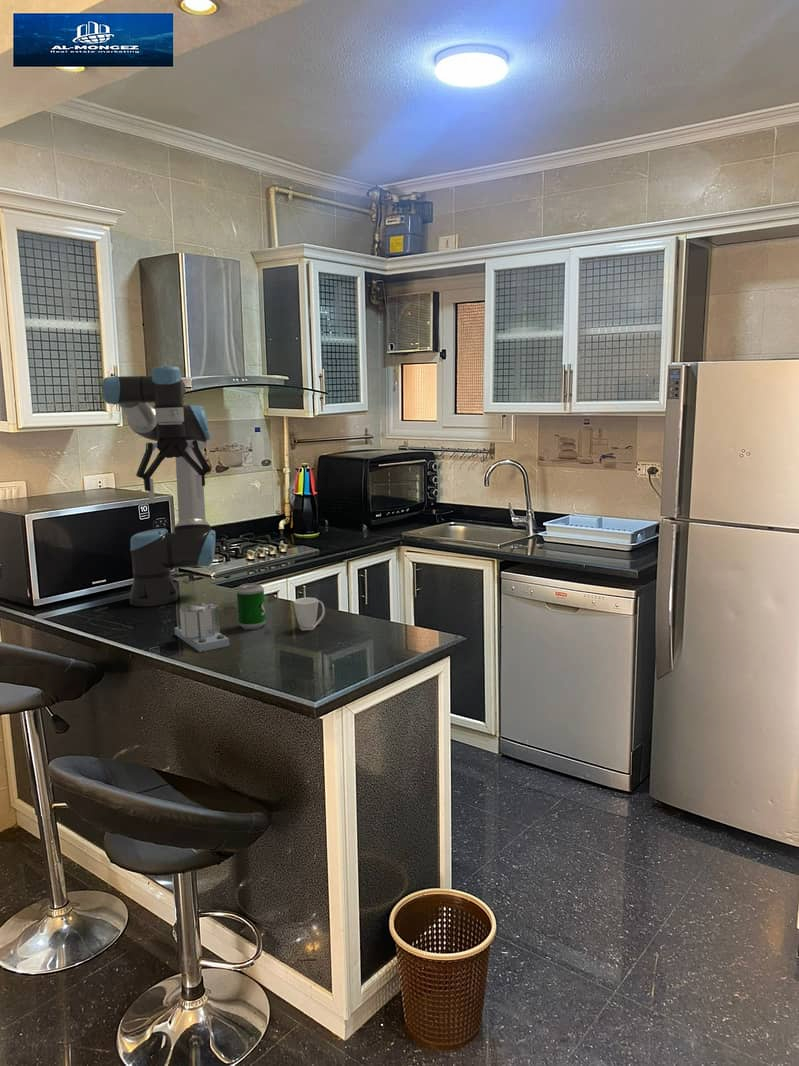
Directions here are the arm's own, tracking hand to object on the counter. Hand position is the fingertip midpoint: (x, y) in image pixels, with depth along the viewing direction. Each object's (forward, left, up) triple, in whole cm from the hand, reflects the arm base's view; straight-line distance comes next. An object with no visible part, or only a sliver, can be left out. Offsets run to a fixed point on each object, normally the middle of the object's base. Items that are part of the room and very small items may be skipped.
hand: (176, 500), depth 220 cm
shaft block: (+15, -1, -37) cm, 40 cm away
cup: (+23, +28, -37) cm, 52 cm away
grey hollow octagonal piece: (+15, -1, -35) cm, 38 cm away
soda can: (+12, +15, -37) cm, 42 cm away
